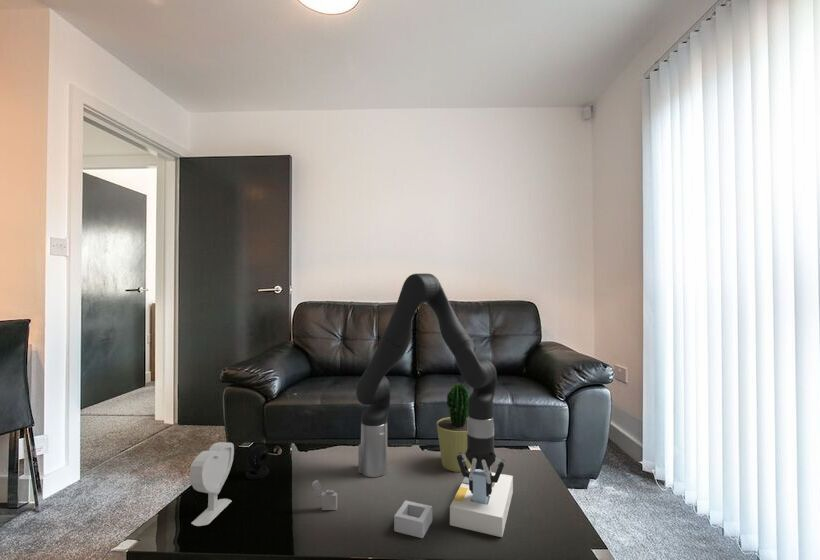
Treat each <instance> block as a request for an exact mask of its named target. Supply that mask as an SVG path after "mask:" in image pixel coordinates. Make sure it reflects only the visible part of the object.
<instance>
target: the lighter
mask: <svg viewBox="0 0 820 560" xmlns="http://www.w3.org/2000/svg"><path fill="white" fill-rule="evenodd" d="M311 486H312V488H313V490H314V492H315V495H316V497H317V498H319V497H321V511H322V510H336V511H337V509H338V492H335V491H334V489H327V490H325V492H324V491H323V489H322V486H321V484H320V482H319V479H316V480H314V481H313V482H312V483H311Z"/></svg>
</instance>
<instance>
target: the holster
mask: <svg viewBox="0 0 820 560" xmlns="http://www.w3.org/2000/svg"><path fill="white" fill-rule="evenodd" d="M393 517H394V518H393V522H394V524H393V527H394V528H393V531H394V532H397V533H399V534H403V535H409V536H412V537H415V538H420V539H424V537H425V535H426V534H427V532H428V530H429V529H430V528H429V527H430V525H432V522H433V506H432V505H429V504H423V503H418V502H414V501H410V500H404V501H403V503H402V504H401V506H400V508H398V510H397V511H396V513H395V514H394V516H393Z"/></svg>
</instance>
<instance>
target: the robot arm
mask: <svg viewBox="0 0 820 560" xmlns="http://www.w3.org/2000/svg"><path fill="white" fill-rule="evenodd" d="M400 289H401V290H400V292H399V296H398V299H397V302H396V305H395V308H394V310H393V312H392V315H391V317H390V319H389V321H388V323H387V326H386V328H385V329H384V332H383V334H382V336H381V338H380V340H379V343H378V345H377V347H376V349H375V351H374V354H373V355H372V358H371V360H370V361H369V364H368V365H367V367H366V368H365V370H364V372H363V373H362V375H361V376H360V378H359V380H358V383H357V384H356V391H355V393H356V398H357V401H358V402H359V403H360V404H362V405H368V406H367V408H366V409H365V410H364V411H363V412H362V413H361V415H360V443H359V444H358V452H357V453H358V456H357V458H358V463H357V464H358V469H357V470H358V471H357V472H358V473H360V474H361V473H362V474H363V475H362V474H361V475H362V476H364V475H365V477H367V476H368V477H367V478H377V477H382V476H384V475H386V474H387V471H388V417H389V414H390V409H391V408H390V407H391V390H392V389H391V384H390V380H389V379H388V377H387V376H386V375H387V373H388V372H389V371H390V370H391V369H392V368H394V367H395V366H396V364H398V363H399V362H400V361H401V359H402V358H403V357H404V355H405V354H406V351H407V350H408V347H409V346H410V343H411V341H412V337H413V325H412V323H413V319H414V316H415V314H416V312H417V310H418V308H419V307H420V305H421V304H423V303H427V304H428V306H429V307H430V308H431V309H432V310H433V312H434V314H435V316H436V318H437V321H438V326H439V330H440V335H441V337H442V340H443V341H444V343H445V345H446V346H447V347H448V349H449V350H450V352H451V353H452V355H453V356H454V358H455V361H456V364H457V366H458V370H459V372H460V374H461V377H462V379H463V380H464V382H465V384H467V385H468V386H469V387H471V388H472V390H473V391H472V393H471V394H470V395H469V396H468V397H469V399H468V409H467V411H468V412H467V416H468V417H467V418H468V421H467V451H466V453H463V454H462V453H459V454H458V456H457V460H458V463H459V466H460V469H461V472H460V473H461V474H462V477H464V478H465V477H467V478H468V479H469V490H470V491H471V493H472V494H473V473H475V471H476V469H479V470H484V473H485V476H486V480H487V483H486V496H487V497H489V495H491V493H492V483H493V482H495V483H497V482H498V479H499V477H500V474H502V472H503V469H504V467H505V463H506V461H505V459H502V458H501V459H500V458H498V457H497V454H496V453H495V422H494V396H495V393H496V388H497V379H498V378H497V376H498V375H497V369H496V366H495V365H494V364H493V362H491V361H490V360H487V359H481V360H478V358H477V355H476V353H475V352H476V350H477V346H476V344H475V341H473V339H472V338H471V336H470V335H469V333H468V332H467V331H466V329H465V327H464V326H463V325H462V323H461V322H460V320H459V318H458V317H457V315H456V313H455V311H454V309H453V307H452V304H451V303H450V301H449V299H448V296H447V294H446V293H445V290H444V288H443V286H442V284H441V282H440V281H439V279H438V278H437V276H435V275H434V274H432V273H412V274H410V275H409V276H407V277H406V279H405V280H404V282H403V285H402V287H401V288H400ZM466 457H467V459H468V461H469V462H470V464H471V469H470V472H469V471H468V468H467V465H466V462H465V460H466ZM494 463H495V467H496V468H497V469H496V471H495V473H496V474H495V475H494V476H492V473H491V472H492V466H493V464H494Z"/></svg>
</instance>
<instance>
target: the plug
mask: <svg viewBox="0 0 820 560" xmlns="http://www.w3.org/2000/svg"><path fill="white" fill-rule="evenodd" d="M486 483H487V480H486V476H485V473H484V470H481V469H476V471H475V473H473V502H476V503H481V504H486V505H488V497H487V496H486Z"/></svg>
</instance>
